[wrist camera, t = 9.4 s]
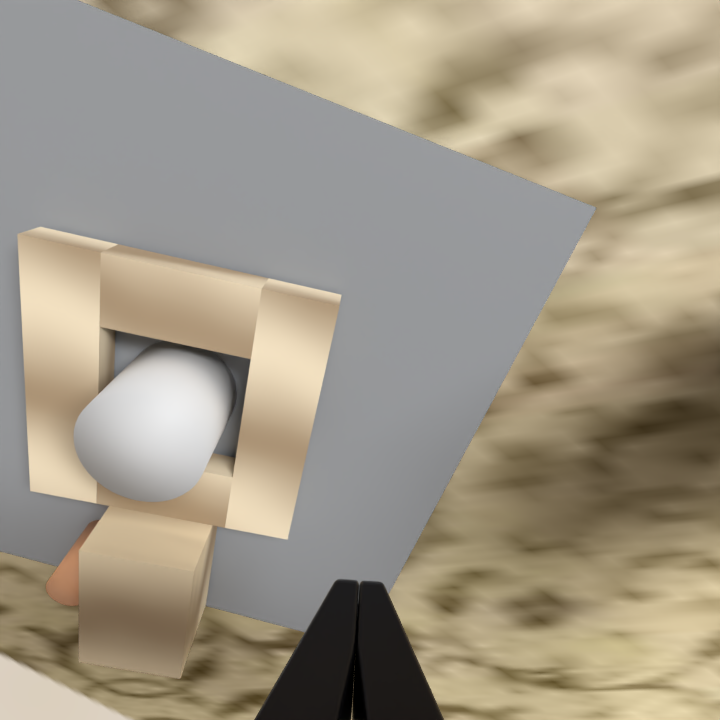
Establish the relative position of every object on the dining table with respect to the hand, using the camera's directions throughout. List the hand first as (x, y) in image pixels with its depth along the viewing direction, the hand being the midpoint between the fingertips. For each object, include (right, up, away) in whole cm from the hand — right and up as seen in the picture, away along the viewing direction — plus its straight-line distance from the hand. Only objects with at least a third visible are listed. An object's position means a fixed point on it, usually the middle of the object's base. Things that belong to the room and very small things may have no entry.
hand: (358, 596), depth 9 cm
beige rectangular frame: (-7, 0, +11) cm, 13 cm away
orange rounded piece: (-11, -3, +13) cm, 18 cm away
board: (-7, +4, +11) cm, 14 cm away
